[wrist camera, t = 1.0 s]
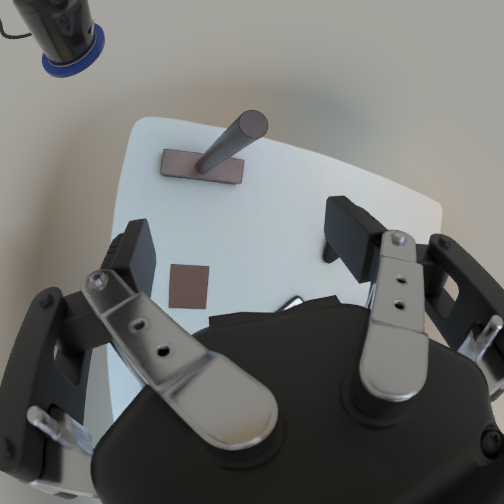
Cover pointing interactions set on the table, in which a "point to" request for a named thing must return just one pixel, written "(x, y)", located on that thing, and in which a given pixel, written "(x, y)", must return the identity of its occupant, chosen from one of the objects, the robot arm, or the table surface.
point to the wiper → (217, 153)
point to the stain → (188, 286)
